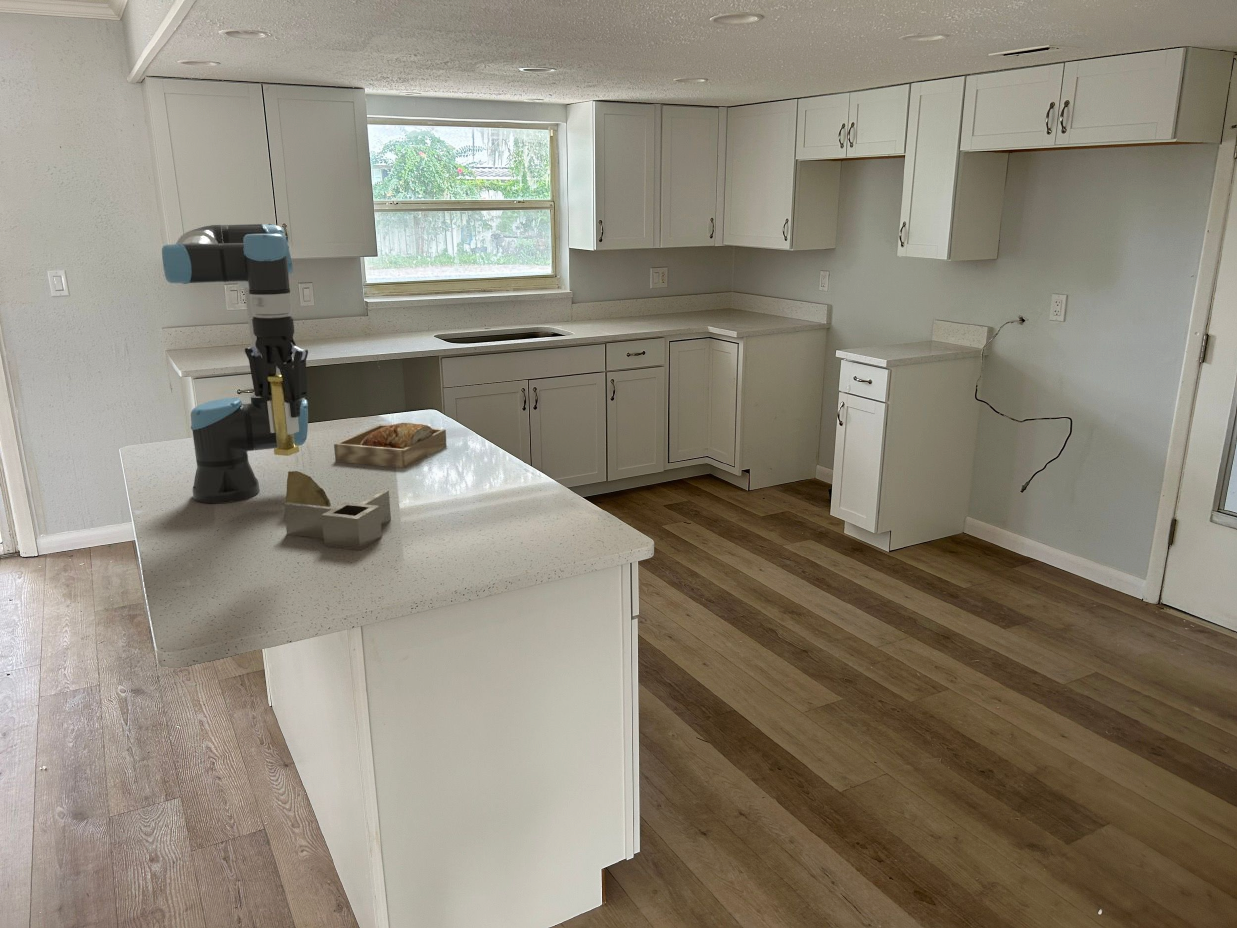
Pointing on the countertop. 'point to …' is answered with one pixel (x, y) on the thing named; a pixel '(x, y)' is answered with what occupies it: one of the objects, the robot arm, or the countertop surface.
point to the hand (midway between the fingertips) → (285, 431)
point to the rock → (305, 490)
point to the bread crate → (387, 450)
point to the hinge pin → (281, 418)
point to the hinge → (340, 521)
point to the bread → (397, 435)
